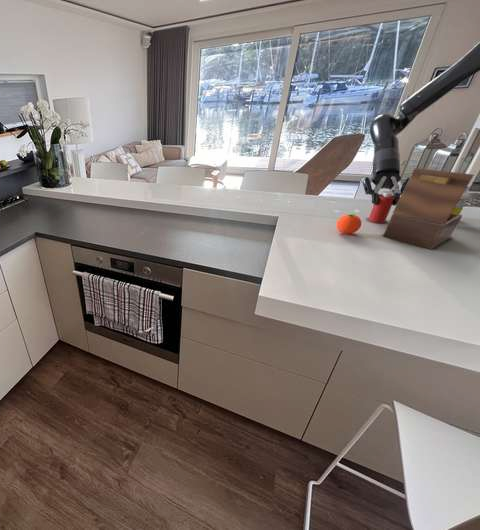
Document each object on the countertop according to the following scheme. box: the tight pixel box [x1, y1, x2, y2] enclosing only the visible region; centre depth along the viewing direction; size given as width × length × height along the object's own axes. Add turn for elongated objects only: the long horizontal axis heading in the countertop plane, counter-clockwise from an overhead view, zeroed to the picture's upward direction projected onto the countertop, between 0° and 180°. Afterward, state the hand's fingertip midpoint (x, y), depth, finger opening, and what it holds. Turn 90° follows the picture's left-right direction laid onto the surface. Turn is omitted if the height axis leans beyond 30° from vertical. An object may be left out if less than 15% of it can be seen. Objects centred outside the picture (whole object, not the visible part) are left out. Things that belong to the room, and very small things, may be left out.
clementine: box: [336, 213, 362, 235], centre depth 102 cm, size 8×7×7 cm
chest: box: [383, 213, 463, 250], centre depth 95 cm, size 14×13×8 cm
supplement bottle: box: [452, 183, 471, 215], centre depth 103 cm, size 7×7×13 cm
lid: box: [392, 167, 475, 225], centre depth 86 cm, size 14×13×5 cm
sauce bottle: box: [368, 190, 395, 224], centre depth 107 cm, size 5×5×11 cm
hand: (385, 204), depth 105 cm, fingers closed on sauce bottle, 5 cm apart
